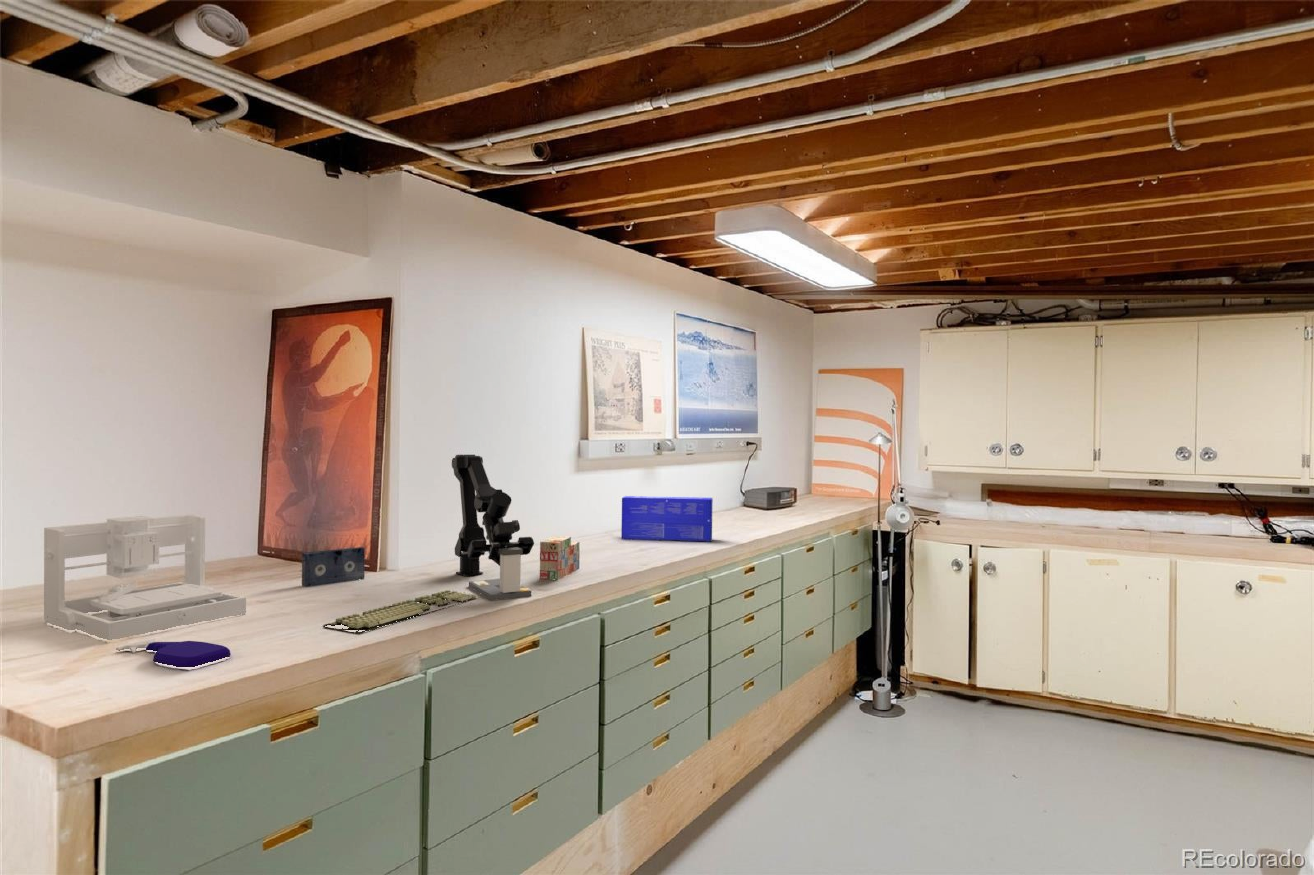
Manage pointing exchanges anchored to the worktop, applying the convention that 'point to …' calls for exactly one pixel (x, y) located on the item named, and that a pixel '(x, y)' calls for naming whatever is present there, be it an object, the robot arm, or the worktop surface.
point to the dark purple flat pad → (181, 652)
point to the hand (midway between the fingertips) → (507, 571)
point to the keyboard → (398, 611)
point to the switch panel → (496, 589)
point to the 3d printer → (129, 556)
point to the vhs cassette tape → (332, 566)
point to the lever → (510, 569)
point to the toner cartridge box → (666, 518)
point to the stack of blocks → (558, 557)
